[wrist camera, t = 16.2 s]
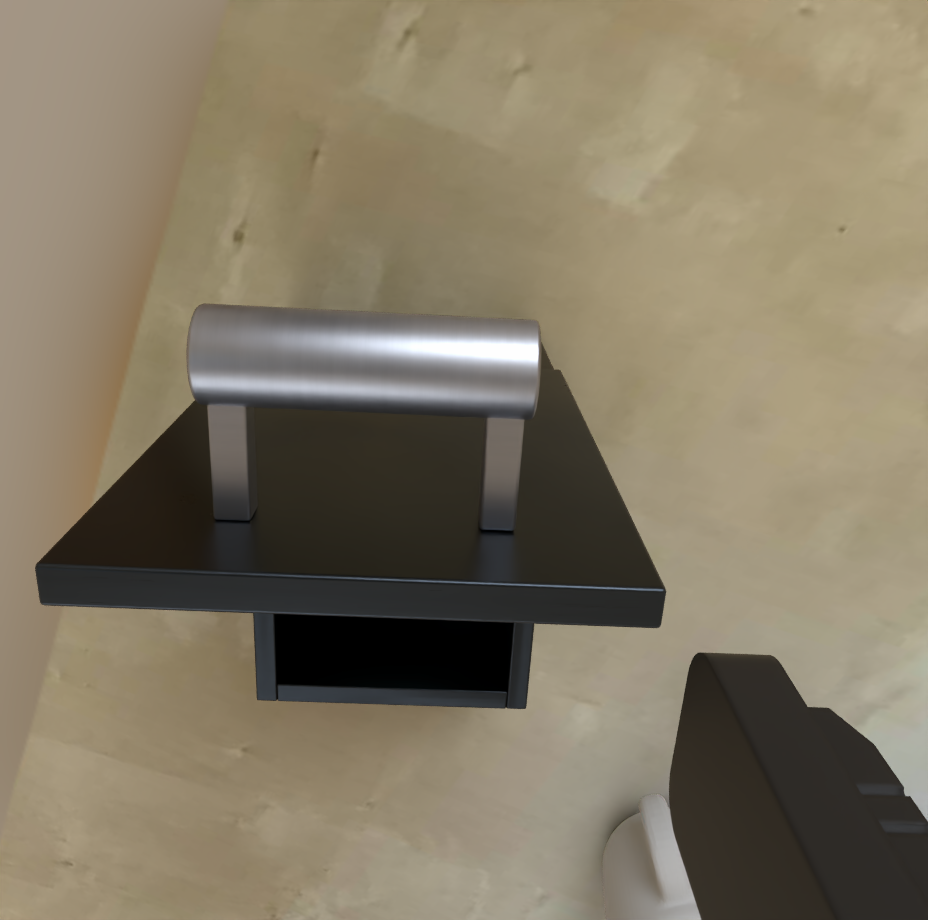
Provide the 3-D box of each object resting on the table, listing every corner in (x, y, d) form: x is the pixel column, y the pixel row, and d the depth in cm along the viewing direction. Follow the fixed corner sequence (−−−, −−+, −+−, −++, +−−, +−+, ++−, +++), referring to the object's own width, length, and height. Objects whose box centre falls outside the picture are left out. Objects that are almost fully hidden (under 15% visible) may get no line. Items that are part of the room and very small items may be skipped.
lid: (661, 630, 14) (705, 358, 13) (38, 607, 14) (-3, 324, 12) (558, 392, 28) (573, 245, 26) (239, 377, 28) (232, 227, 26)
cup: (560, 763, 44) (583, 892, 36) (711, 729, 43) (765, 853, 36) (602, 910, 48) (630, 1053, 40) (741, 881, 47) (796, 1021, 40)
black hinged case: (512, 607, 40) (526, 709, 33) (291, 598, 40) (256, 700, 33) (536, 328, 36) (558, 377, 28) (284, 315, 35) (242, 362, 28)
